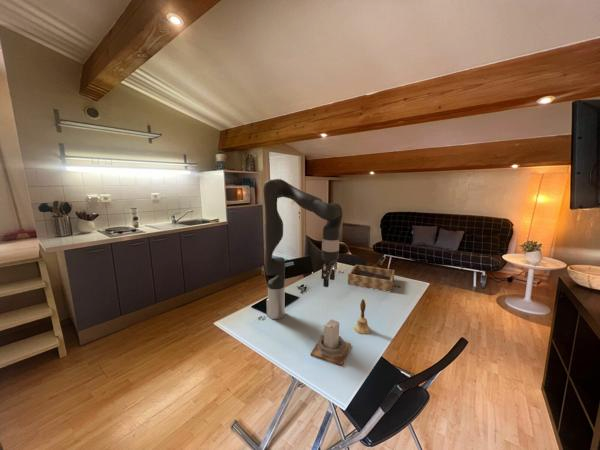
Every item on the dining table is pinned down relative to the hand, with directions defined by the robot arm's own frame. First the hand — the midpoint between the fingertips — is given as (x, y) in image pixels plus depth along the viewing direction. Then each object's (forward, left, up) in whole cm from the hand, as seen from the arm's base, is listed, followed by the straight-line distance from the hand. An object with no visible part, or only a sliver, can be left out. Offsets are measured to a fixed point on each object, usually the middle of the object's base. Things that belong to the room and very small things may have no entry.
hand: (329, 283), depth 107 cm
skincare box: (+4, -7, -27) cm, 29 cm away
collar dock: (+4, -6, -28) cm, 29 cm away
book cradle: (+7, +80, -28) cm, 85 cm away
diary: (+7, +80, -29) cm, 85 cm away
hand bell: (+13, +16, -28) cm, 35 cm away
